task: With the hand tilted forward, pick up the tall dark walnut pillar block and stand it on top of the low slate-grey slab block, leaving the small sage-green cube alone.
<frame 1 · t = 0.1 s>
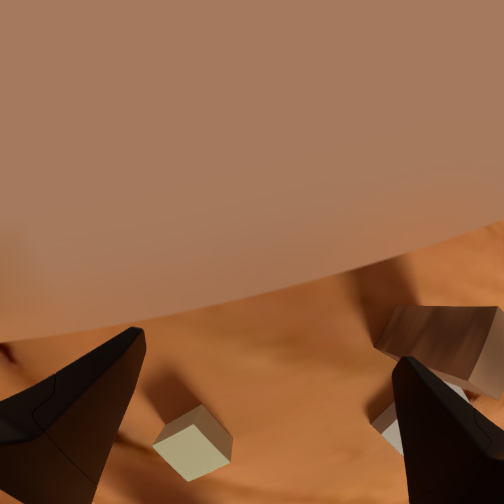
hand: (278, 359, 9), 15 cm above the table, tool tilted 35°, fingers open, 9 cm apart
sage cube: (198, 431, 22), on the table
slate slab: (418, 413, 22), on the table
walnut pillar: (401, 336, 23), on the table
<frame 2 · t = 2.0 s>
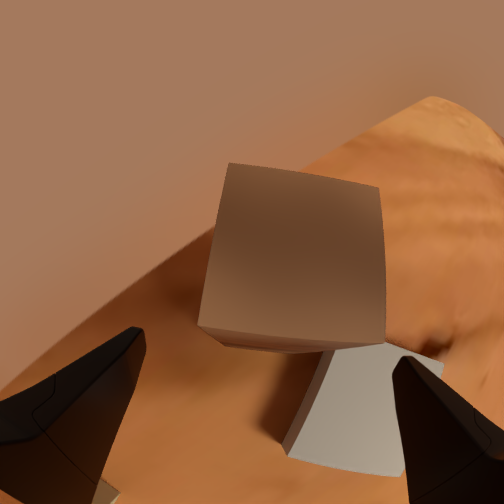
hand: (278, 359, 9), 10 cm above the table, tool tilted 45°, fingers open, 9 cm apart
sage cube: (89, 490, 13), on the table
slate slab: (359, 405, 17), on the table
walnut pillar: (262, 318, 19), on the table
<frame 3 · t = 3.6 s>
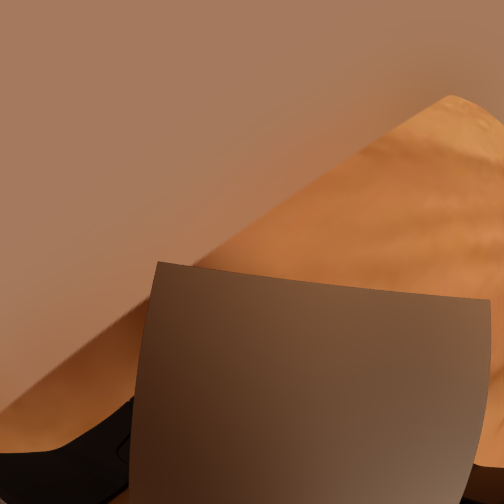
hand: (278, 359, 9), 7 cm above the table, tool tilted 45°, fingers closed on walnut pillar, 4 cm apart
walnut pillar: (258, 381, 14), on the table, touching gripper
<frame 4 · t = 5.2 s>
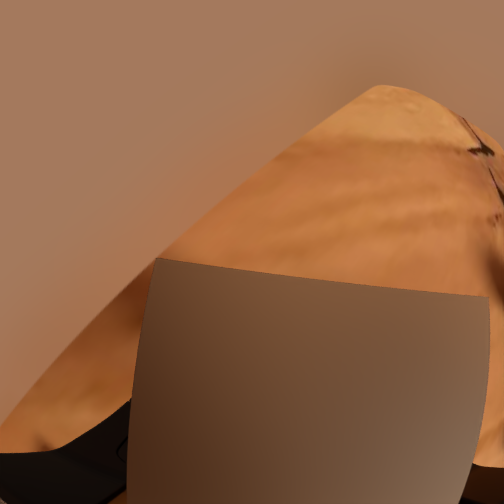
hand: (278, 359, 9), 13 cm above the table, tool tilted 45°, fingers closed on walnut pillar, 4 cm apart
walnut pillar: (258, 380, 14), point 7 cm above the table, touching gripper
when the fingers open (10 cm above the table, at t = 6.6 s): walnut pillar drops 1 cm, point 3 cm above the table.
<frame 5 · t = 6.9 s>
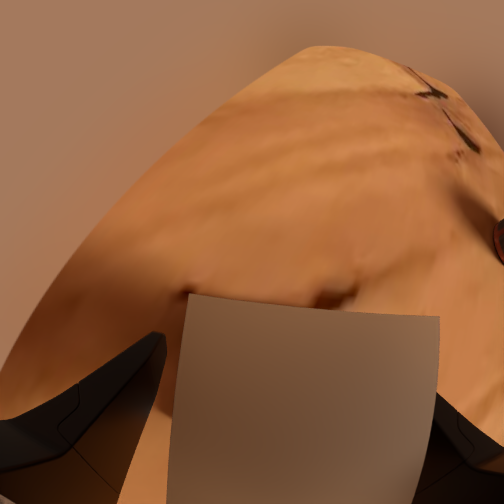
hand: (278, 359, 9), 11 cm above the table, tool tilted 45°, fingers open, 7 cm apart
supplement bottle: (503, 246, 23), on the table
walnut pillar: (256, 379, 16), point 3 cm above the table
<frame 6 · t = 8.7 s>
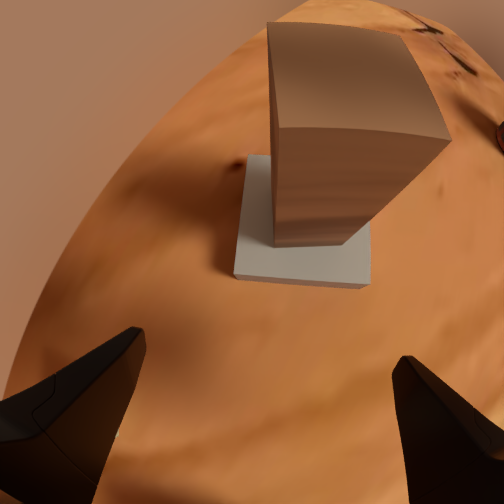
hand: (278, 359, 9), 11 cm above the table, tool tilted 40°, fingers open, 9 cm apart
slate slab: (302, 228, 22), on the table, touching walnut pillar
walnut pillar: (306, 214, 19), point 3 cm above the table, touching slate slab
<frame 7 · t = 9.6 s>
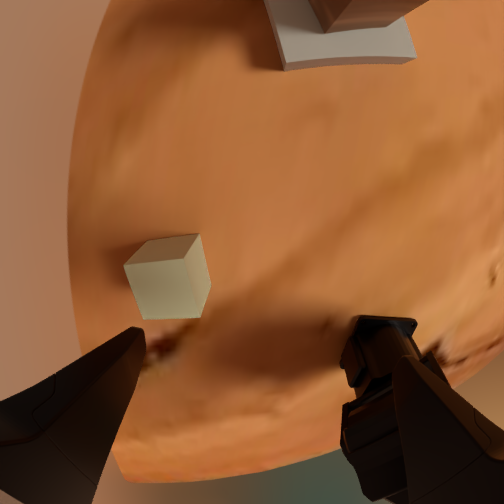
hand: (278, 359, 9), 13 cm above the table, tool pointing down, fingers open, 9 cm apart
sage cube: (179, 262, 22), on the table
slate slab: (329, 14, 14), on the table, touching walnut pillar
walnut pillar: (342, 1, 11), point 3 cm above the table, touching slate slab
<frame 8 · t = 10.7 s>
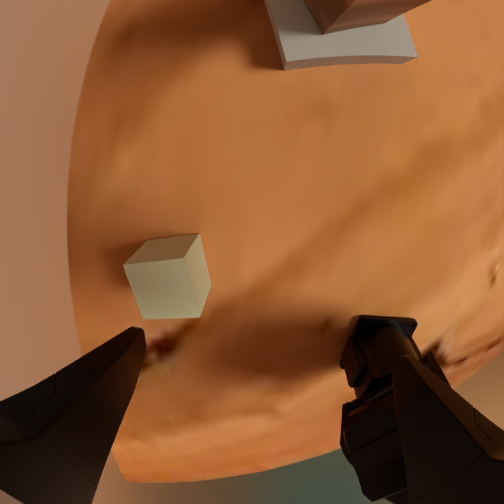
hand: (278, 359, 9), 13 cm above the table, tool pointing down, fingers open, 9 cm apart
sage cube: (179, 262, 22), on the table
slate slab: (329, 14, 14), on the table, touching walnut pillar
walnut pillar: (339, 0, 11), point 3 cm above the table, tilted 6°, touching slate slab
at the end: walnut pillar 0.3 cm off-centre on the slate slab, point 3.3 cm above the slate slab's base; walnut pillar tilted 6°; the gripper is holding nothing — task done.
